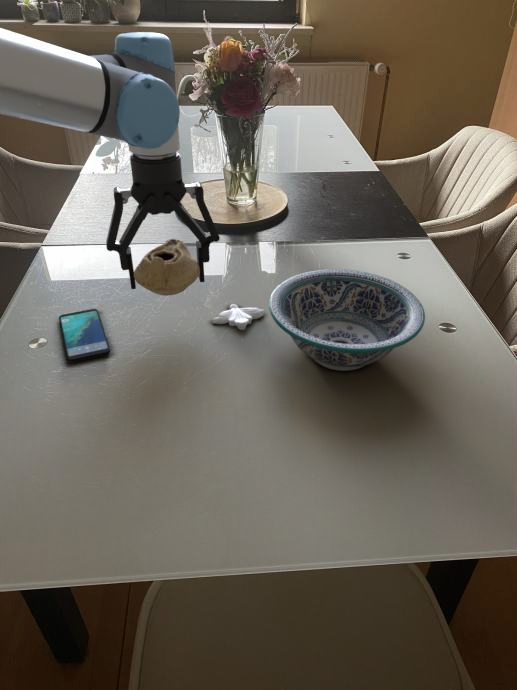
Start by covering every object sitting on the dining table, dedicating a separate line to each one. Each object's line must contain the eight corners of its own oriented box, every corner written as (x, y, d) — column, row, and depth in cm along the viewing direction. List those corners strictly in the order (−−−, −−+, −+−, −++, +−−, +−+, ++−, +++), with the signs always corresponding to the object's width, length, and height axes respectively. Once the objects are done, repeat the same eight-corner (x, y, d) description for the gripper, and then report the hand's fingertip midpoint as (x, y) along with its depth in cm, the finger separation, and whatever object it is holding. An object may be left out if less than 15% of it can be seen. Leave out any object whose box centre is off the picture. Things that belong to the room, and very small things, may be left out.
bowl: (359, 423, 78) (368, 372, 73) (237, 352, 92) (237, 305, 86) (440, 350, 93) (453, 303, 88) (325, 299, 107) (330, 255, 101)
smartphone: (67, 360, 88) (58, 314, 99) (68, 364, 88) (58, 318, 100) (111, 351, 90) (97, 307, 101) (111, 355, 91) (97, 310, 102)
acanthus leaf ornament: (264, 315, 102) (264, 307, 101) (248, 333, 97) (248, 325, 96) (229, 305, 104) (229, 297, 103) (212, 323, 99) (211, 314, 98)
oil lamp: (200, 263, 100) (197, 222, 95) (201, 305, 88) (198, 261, 83) (140, 265, 99) (135, 224, 94) (133, 308, 87) (126, 264, 82)
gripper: (72, 164, 75) (97, 299, 88) (236, 155, 79) (238, 285, 92) (74, 149, 81) (98, 278, 94) (227, 141, 85) (230, 265, 98)
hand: (167, 281), depth 93 cm, fingers closed on oil lamp, 11 cm apart
